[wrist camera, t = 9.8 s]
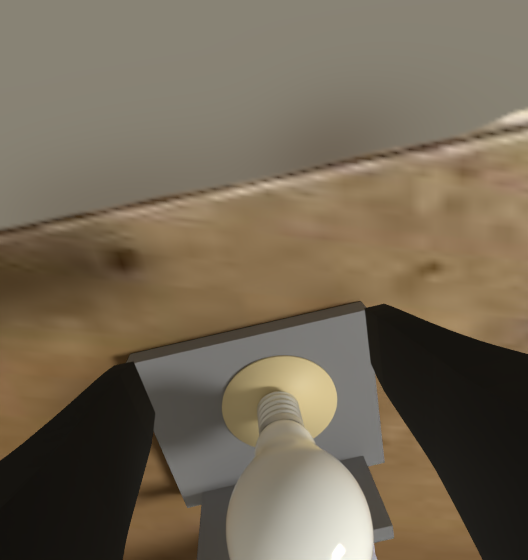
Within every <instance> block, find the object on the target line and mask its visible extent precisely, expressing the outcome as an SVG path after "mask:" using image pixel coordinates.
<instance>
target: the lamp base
mask: <svg viewBox="0 0 528 560" xmlns="http://www.w3.org/2000/svg"><path fill="white" fill-rule="evenodd" d="M364 308H366V307H365V305H364V304H363V303H362V302H361V301H360V302H356V303H351V304H347V305H343V306H338V307H334V308H329V309H325V310H321V311H316V312H312V313H308V314H303V315H299V316H295V317H290V318H286V319H281V320H277V321H273V322H268V323H264V324H260V325H255V326H251V327H247V328H242V329H238V330H234V331H229V332H225V333H220V334H216V335H212V336H207V337H203V338H199V339H194V340H190V341H186V342H181V343H177V344H172V345H168V346H164V347H159V348H155V349H151V350H146V351H142V352H138V353H133V354H130V356H129V358H128V360H127V362H126V363H128V362H133V361H134V364H135V366H136V368H137V371H138V373H139V375H140V378H141V380H142V382H143V385H144V387H145V389H146V392H147V394H148V397H149V399H150V401H151V404H152V406H153V408H154V411H155V421H154V430H153V431H154V433H155V435H156V438H157V440H158V442H159V445H160V447H161V449H162V451H163V454H164V456H165V458H166V460H167V463H168V465H169V467H170V470H171V472H172V474H173V476H174V479H175V481H176V483H177V485H178V488H179V490H180V492H181V495H182V497H183V499H184V501H185V504H186V506H187V508H189V507H193V506H198V505H202V506H201V518H200V529H199V541H198V553H197V560H230V558H229V554H228V549H227V543H226V516H227V509H228V505H229V501H230V497H231V494H232V492H233V489H234V487H235V485H236V483H237V481H238V479H239V477H240V476H241V474H242V472H243V471H244V470H245V468H246V467H247V465H248V464H249V463H250V462H251V460H252V459H253V457H254V452H255V446H256V442H257V439H258V437H259V428H258V417H257V406H258V403H259V401H260V400H261V399H262V398H263V397H264V396H266V395H267V394H269V393H272V392H278V391H282V392H287V393H290V394H291V395H293V396H294V397H295V398H296V399H297V401H298V404H299V408H300V412H301V415H302V419H303V424H304V427H305V428H306V429H307V430H308V431H309V433H310V434H311V435H312V437H313V439H314V441H315V443H316V444H317V446H319V447H320V448H322V449H324V450H325V451H327V452H328V453H330V454H331V455H333V456H334V457H335V458H337V459H338V460H339V461H340V462H341V463H342V464H343V465H344V466H345V467H346V468H347V469H348V470H349V471H350V472H351V474H352V475H353V476H354V478H355V479H356V481H357V482H358V484H359V486H360V487H361V489H362V491H363V493H364V496H365V498H366V500H367V503H368V506H369V510H370V513H371V518H372V524H373V534H374V543H375V542H380V541H384V540H388V539H393V538H394V534H393V525H392V523H391V521H390V518H389V516H388V513H387V511H386V509H385V506H384V504H383V501H382V499H381V497H380V494H379V492H378V490H377V487H376V485H375V482H374V480H373V478H372V475H371V473H370V470H369V468H368V466H372V465H376V464H380V463H385V462H384V453H383V444H382V435H381V425H380V416H379V407H378V398H377V389H376V379H375V371H374V369H373V367H372V365H371V362H370V353H369V344H368V335H367V326H366V317H365V309H364Z"/></svg>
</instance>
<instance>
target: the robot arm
mask: <svg viewBox="0 0 528 560" xmlns="http://www.w3.org/2000/svg"><path fill="white" fill-rule="evenodd" d="M364 309H365V317H366V326H367V335H368V344H369V353H370V362H371V365H372V367H373V369H374V371H375V374H376V376H377V378H378V380H379V382H380V384H381V386H382V388H383V390H384V392H385V393H386V395H387V396H388V398H389V399H390V401H391V402H392V404H393V405H394V407H395V408H396V410H397V411H398V413H399V414H400V416H401V417H402V419H403V420H404V422H405V423H406V425H407V426H408V428H409V429H410V431H411V432H412V434H413V435H414V437H415V438H416V440H417V441H418V443H419V444H420V446H421V447H422V449H423V450H424V452H425V453H426V455H427V457H428V458H429V460H430V461H431V463H432V465H433V466H434V468H435V470H436V471H437V473H438V475H439V477H440V479H441V481H442V482H443V484H444V486H445V488H446V490H447V492H448V494H449V495H450V497H451V499H452V501H453V503H454V505H455V507H456V509H457V510H458V512H459V514H460V516H461V518H462V520H463V522H464V524H465V526H466V528H467V530H468V532H469V534H470V536H471V538H472V540H473V541H474V543H475V545H476V547H477V549H478V551H479V553H480V555H481V557H482V559H483V560H528V354H525V353H521V352H518V351H514V350H510V349H507V348H503V347H499V346H496V345H492V344H489V343H486V342H482V341H479V340H476V339H473V338H471V337H468V336H465V335H462V334H459V333H456V332H453V331H451V330H448V329H445V328H443V327H440V326H438V325H435V324H433V323H430V322H428V321H425V320H423V319H421V318H418V317H416V316H414V315H411V314H409V313H406V312H404V311H402V310H399V309H397V308H394V307H392V306H389V305H386V304H381V305H377V306H372V307H368V308H364ZM154 421H155V411H154V408H153V406H152V404H151V401H150V399H149V397H148V394H147V392H146V389H145V387H144V385H143V382H142V380H141V378H140V375H139V373H138V371H137V368H136V366H135V364H134V361H133V362H128V363H124V364H119V365H115V366H113V367H112V368H110V369H109V370H108V371H106V372H105V373H104V374H103V375H101V376H100V377H99V378H98V379H97V380H96V381H94V382H93V383H92V384H91V385H90V386H89V387H88V388H87V389H85V390H84V391H83V392H82V393H81V394H80V395H79V396H78V397H76V398H75V399H74V400H73V401H72V402H71V403H70V404H69V405H68V406H66V407H65V408H64V409H63V410H62V411H61V412H60V413H58V414H57V415H56V416H55V417H54V418H53V419H51V420H50V421H49V422H48V423H47V424H45V425H44V426H43V427H42V428H41V429H39V430H38V431H37V432H36V433H35V434H34V435H32V436H31V437H30V438H29V439H28V440H26V441H25V442H24V443H23V444H21V445H20V446H19V447H18V448H16V449H15V450H14V451H12V452H11V453H10V454H9V455H7V456H6V457H5V458H3V459H2V460H1V461H0V560H123V554H124V549H125V543H126V539H127V534H128V530H129V526H130V522H131V518H132V514H133V511H134V507H135V504H136V500H137V496H138V493H139V489H140V485H141V482H142V478H143V475H144V471H145V467H146V463H147V460H148V456H149V452H150V448H151V444H152V437H153V430H154ZM372 560H377V558H376V555H375V549H374V547H373V556H372Z"/></svg>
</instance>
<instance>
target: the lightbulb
mask: <svg viewBox="0 0 528 560" xmlns="http://www.w3.org/2000/svg"><path fill="white" fill-rule="evenodd" d="M257 417H258V428H259V437H258V439H257V442H256V446H255V452H254V457H253V459H252V460H251V462H250V463H249V464H248V465H247V467H246V468H245V470H244V471H243V472H242V474H241V476H240V477H239V479H238V481H237V483H236V485H235V487H234V489H233V492H232V494H231V497H230V501H229V505H228V509H227V516H226V543H227V549H228V554H229V558H230V560H372V556H373V547H374V534H373V524H372V518H371V513H370V510H369V506H368V503H367V500H366V498H365V496H364V493H363V491H362V489H361V487H360V486H359V484H358V482H357V481H356V479H355V478H354V476H353V475H352V474H351V472H350V471H349V470H348V469H347V468H346V467H345V466H344V465H343V464H342V463H341V462H340V461H339V460H338V459H337V458H335V457H334V456H333V455H331V454H330V453H328V452H327V451H325V450H324V449H322V448H320V447H319V446H317V444H316V443H315V441H314V439H313V437H312V435H311V434H310V433H309V431H308V430H307V429H306V428H305V427H304V424H303V419H302V415H301V412H300V408H299V404H298V401H297V399H296V398H295V397H294V396H293V395H291V394H290V393H287V392H282V391H278V392H272V393H269V394H267V395H266V396H264V397H263V398H262V399H261V400H260V401H259V403H258V406H257Z"/></svg>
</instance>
